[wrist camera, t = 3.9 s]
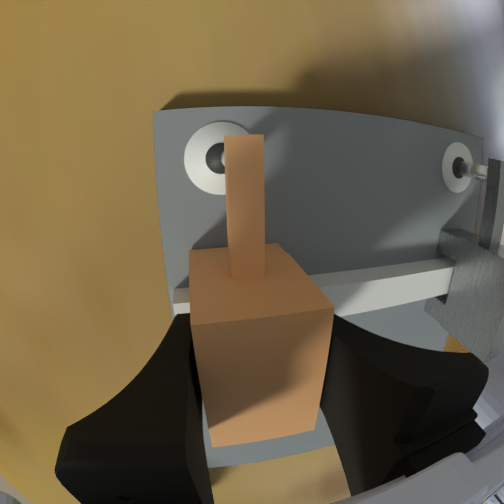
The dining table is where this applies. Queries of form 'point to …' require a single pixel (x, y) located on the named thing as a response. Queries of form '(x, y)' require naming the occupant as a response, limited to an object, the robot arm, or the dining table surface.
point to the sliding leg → (255, 318)
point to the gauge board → (324, 218)
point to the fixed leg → (476, 272)
